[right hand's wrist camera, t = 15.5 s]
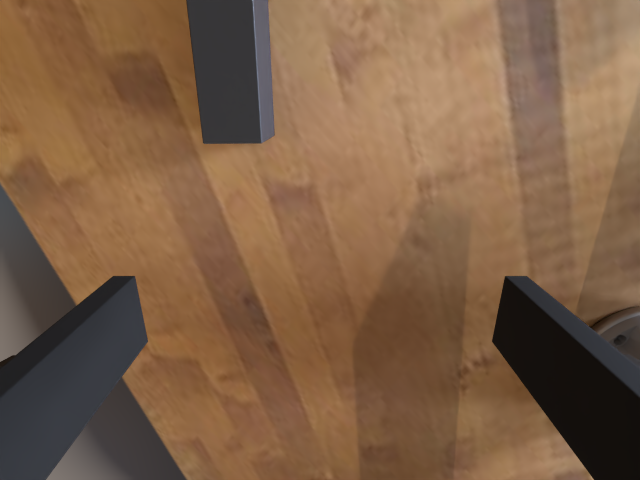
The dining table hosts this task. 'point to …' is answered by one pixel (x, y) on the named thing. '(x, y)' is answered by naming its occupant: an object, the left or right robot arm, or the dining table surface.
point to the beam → (232, 69)
